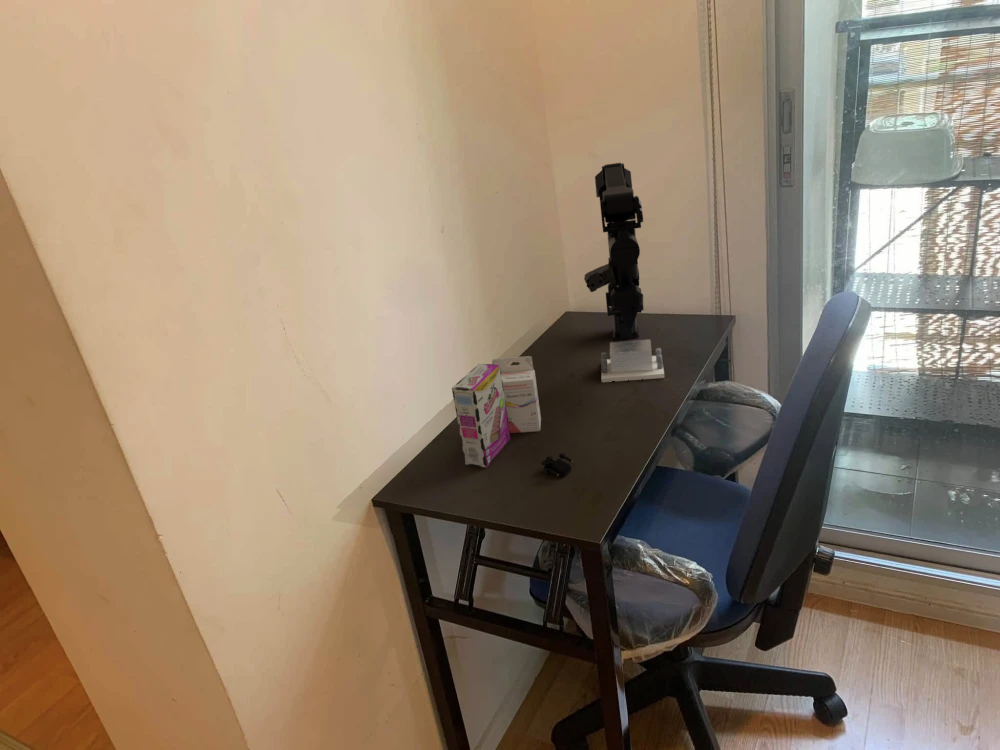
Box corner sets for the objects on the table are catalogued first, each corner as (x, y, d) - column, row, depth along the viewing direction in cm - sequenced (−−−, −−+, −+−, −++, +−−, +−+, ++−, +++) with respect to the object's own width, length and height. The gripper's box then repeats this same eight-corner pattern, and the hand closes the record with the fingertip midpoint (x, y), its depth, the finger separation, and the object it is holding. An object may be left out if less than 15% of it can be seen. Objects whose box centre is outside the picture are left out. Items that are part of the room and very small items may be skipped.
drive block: (611, 362, 160) (610, 342, 158) (651, 359, 159) (650, 339, 157) (611, 373, 155) (609, 353, 153) (652, 370, 153) (651, 350, 151)
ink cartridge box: (498, 435, 140) (487, 369, 134) (500, 423, 144) (489, 358, 138) (540, 431, 138) (531, 364, 132) (542, 419, 143) (532, 354, 137)
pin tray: (602, 363, 163) (600, 348, 161) (661, 359, 160) (660, 343, 159) (601, 382, 154) (600, 366, 152) (664, 377, 151) (663, 361, 150)
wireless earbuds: (558, 479, 120) (534, 465, 122) (555, 489, 121) (532, 475, 124) (578, 459, 125) (555, 446, 127) (576, 469, 126) (553, 456, 129)
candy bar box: (488, 469, 128) (473, 390, 122) (464, 466, 131) (449, 388, 124) (513, 438, 137) (500, 363, 131) (490, 436, 140) (477, 362, 133)
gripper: (585, 245, 156) (592, 310, 162) (583, 269, 139) (590, 341, 146) (636, 240, 154) (641, 306, 160) (639, 264, 137) (644, 337, 143)
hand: (628, 322), depth 152 cm, fingers open, 9 cm apart
